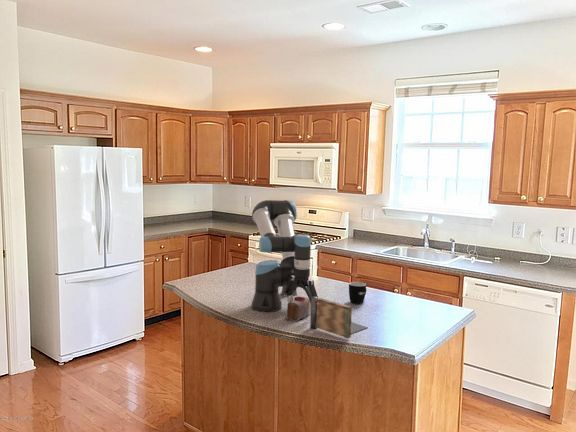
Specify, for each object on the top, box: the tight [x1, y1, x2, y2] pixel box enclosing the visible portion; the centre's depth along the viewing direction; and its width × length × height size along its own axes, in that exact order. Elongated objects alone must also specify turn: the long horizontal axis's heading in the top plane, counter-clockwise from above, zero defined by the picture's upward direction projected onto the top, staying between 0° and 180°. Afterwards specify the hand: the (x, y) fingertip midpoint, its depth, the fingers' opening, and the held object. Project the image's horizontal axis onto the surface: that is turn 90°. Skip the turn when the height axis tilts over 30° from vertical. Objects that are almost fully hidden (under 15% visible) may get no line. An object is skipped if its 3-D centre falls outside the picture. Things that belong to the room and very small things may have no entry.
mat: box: [351, 321, 369, 335], centre depth 206 cm, size 11×16×1 cm
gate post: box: [309, 296, 319, 330], centre depth 205 cm, size 3×3×14 cm
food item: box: [286, 296, 310, 322], centre depth 220 cm, size 14×8×10 cm, turn 151°
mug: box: [348, 281, 367, 305], centre depth 247 cm, size 12×9×10 cm
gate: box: [316, 297, 353, 339], centre depth 197 cm, size 17×2×13 cm, turn 47°
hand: (300, 312), depth 221 cm, fingers open, 13 cm apart
